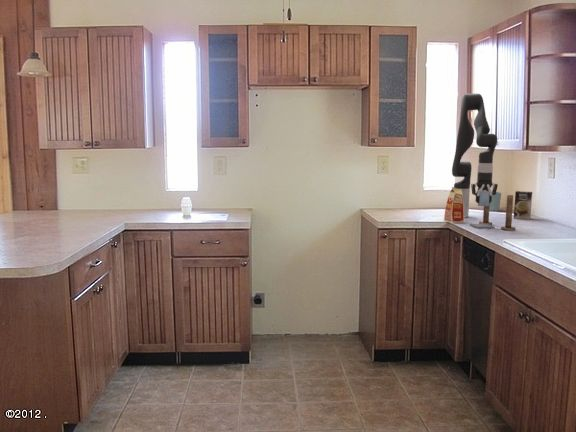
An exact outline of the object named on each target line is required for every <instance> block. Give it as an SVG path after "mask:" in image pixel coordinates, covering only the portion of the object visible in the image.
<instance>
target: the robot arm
mask: <svg viewBox="0 0 576 432" xmlns="http://www.w3.org/2000/svg"><path fill="white" fill-rule="evenodd" d="M483 98H484V97H483V96H482V94H480V93H464V94H463V95H462V97H461V101H460V117H459V124H458V131H457V137H456V146H455V152H454V158H453V162H452V167H451V174H452V176H453V177H455V178H463V179H461V180H459V181H457V182H454V184H453V187H454V188H457V189H462V193H463V200H464V218H468V217H469V214H470V194H471V193H472V195H474V196H475V202H476V203H477V204H478V203H479V197H480V196H479V195H480V192H481V191H484V190H486V191H489V192H490V194H489V203H491V201H492V196H493V195H495V194H496V192H498V191H497V190H498V186H499V185H498V183H494V182H493V170H494V167H493V160H494V159H493V158H494V153H495V149H496V148H497V144H498V136H497V135H496V134H495V133H490V131H491V128H490V126H489V122H488V120H487V119H488V118H487V115H486V107H485V103H484V99H483ZM469 111H477V114H476V116H475V117H474V119H473V125H472V124H471V121H470V119H469V117H468V113H469ZM473 126H474V127H473ZM475 132H476V134H475ZM475 135H476V139H475V140H476V141H475V143H476V145H477V147H479V148H487V149H486V150H485V151H484V150H483V151H480V152H479V155H478V166H477V180H476V183H471V178H472V163H471V162H470V161H462V158H463V156H464V154H465V153H466V152H467V151H468V150H469V149H470V148H471V146H472V145H473V143H474V137H475ZM476 188H477V190H476ZM491 188H492V189H491ZM470 190H471V191H470ZM470 192H471V193H470Z"/></svg>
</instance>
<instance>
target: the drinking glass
mask: <svg viewBox="0 0 576 432" xmlns="http://www.w3.org/2000/svg"><path fill="white" fill-rule="evenodd" d="M501 199H502V192H499V191H496V194H495V195H493V196H492V201H491V203H490V208H489V212H492V211H493V213H494V212H495V211H497V212H500V206H501Z"/></svg>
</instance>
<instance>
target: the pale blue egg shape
mask: <svg viewBox="0 0 576 432" xmlns="http://www.w3.org/2000/svg"><path fill="white" fill-rule="evenodd" d="M489 194H490V192H489V191H486V190H484V191H481V192H480V195H479V196H480V197H479V203H477V206H478V207H484V206H489Z"/></svg>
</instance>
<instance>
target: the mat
mask: <svg viewBox="0 0 576 432" xmlns="http://www.w3.org/2000/svg"><path fill="white" fill-rule="evenodd" d="M469 226H470V227H472V228H474V229H495V226H494V225H493V224H492V225H489V224H479V223H469Z"/></svg>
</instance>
